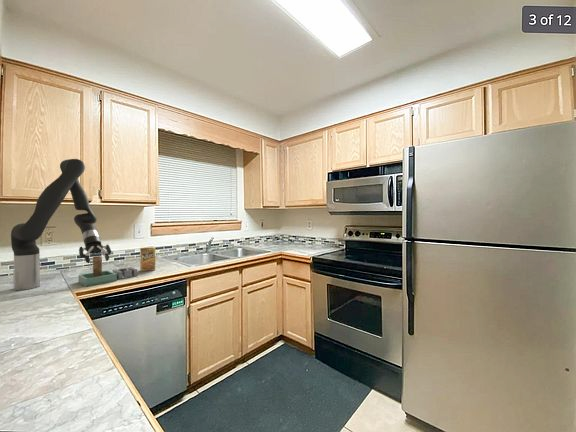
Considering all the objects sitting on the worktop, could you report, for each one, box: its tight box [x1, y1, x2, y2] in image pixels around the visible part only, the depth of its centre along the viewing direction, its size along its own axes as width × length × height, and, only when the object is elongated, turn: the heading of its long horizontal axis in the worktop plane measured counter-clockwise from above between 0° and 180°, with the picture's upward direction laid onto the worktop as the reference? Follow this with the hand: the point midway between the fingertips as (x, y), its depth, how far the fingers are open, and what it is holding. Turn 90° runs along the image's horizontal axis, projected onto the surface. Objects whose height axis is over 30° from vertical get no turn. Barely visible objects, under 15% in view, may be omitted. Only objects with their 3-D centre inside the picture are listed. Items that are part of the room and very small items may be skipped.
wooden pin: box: [92, 255, 103, 277], centre depth 141 cm, size 4×4×13 cm
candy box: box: [139, 246, 156, 272], centre depth 169 cm, size 9×4×15 cm, turn 116°
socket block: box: [111, 266, 138, 280], centre depth 153 cm, size 10×10×4 cm
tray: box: [77, 270, 118, 287], centre depth 141 cm, size 14×14×4 cm
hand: (98, 261), depth 140 cm, fingers open, 8 cm apart
